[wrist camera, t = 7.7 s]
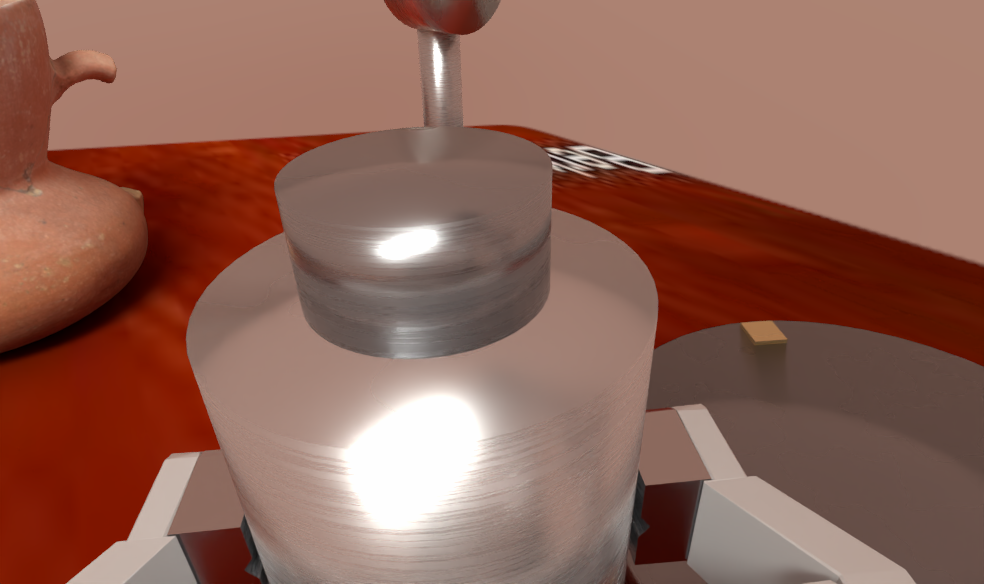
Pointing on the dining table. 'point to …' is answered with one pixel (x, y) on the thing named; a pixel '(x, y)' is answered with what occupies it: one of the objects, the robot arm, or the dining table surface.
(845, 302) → the dining table surface
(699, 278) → the dining table surface
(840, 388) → the disc
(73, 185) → the ceramic jug
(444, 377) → the capped metal canister
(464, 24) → the metal joystick
